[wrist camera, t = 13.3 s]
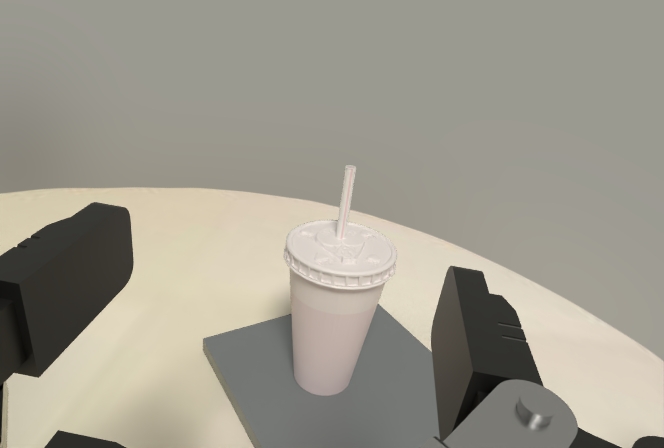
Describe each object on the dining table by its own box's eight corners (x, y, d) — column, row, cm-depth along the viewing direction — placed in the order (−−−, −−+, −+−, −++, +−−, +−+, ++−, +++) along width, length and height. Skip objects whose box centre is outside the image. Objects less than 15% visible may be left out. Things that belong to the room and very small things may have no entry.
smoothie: (358, 340, 34) (393, 155, 28) (382, 410, 28) (433, 198, 22) (269, 342, 33) (285, 147, 27) (276, 417, 27) (300, 191, 21)
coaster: (203, 350, 33) (202, 338, 32) (364, 302, 40) (366, 293, 40) (298, 531, 22) (300, 518, 22) (493, 423, 30) (497, 412, 29)
